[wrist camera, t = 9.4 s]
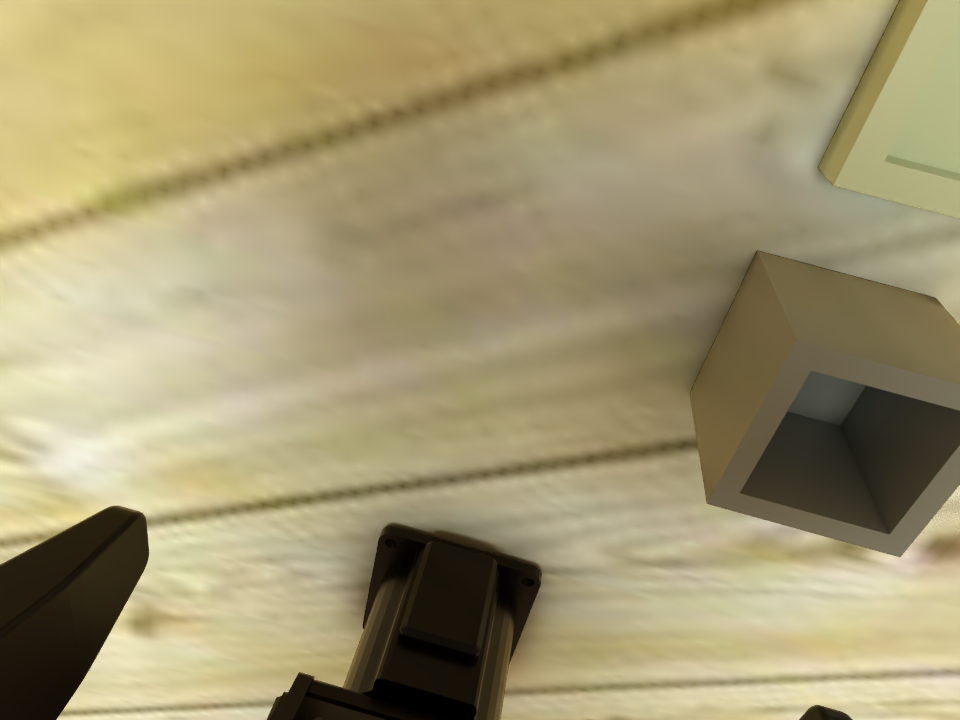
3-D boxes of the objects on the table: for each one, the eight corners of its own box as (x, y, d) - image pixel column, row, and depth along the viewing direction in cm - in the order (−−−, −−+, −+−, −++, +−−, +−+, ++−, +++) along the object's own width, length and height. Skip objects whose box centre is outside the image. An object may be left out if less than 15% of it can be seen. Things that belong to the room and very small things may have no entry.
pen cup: (845, 435, 22) (900, 557, 17) (689, 393, 22) (706, 503, 18) (936, 298, 19) (1026, 402, 15) (757, 250, 19) (796, 340, 15)
